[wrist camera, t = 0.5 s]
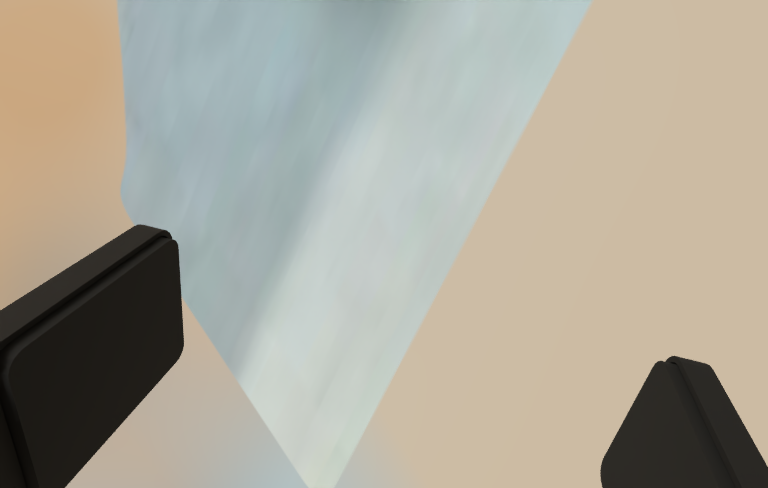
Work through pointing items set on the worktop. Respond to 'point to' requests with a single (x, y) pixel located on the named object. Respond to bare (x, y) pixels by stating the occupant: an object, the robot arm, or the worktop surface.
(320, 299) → the worktop surface
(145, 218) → the worktop surface
